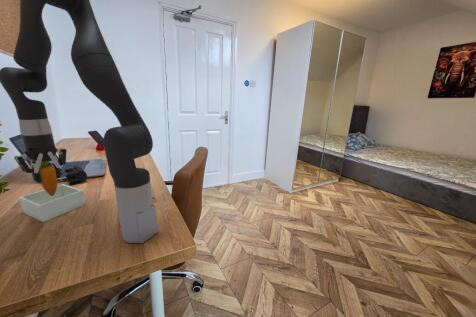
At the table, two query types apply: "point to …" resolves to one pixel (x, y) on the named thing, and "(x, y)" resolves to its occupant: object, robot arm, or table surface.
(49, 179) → the carrot
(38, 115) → the robot arm
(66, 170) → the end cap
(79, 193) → the bin
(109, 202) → the table surface
